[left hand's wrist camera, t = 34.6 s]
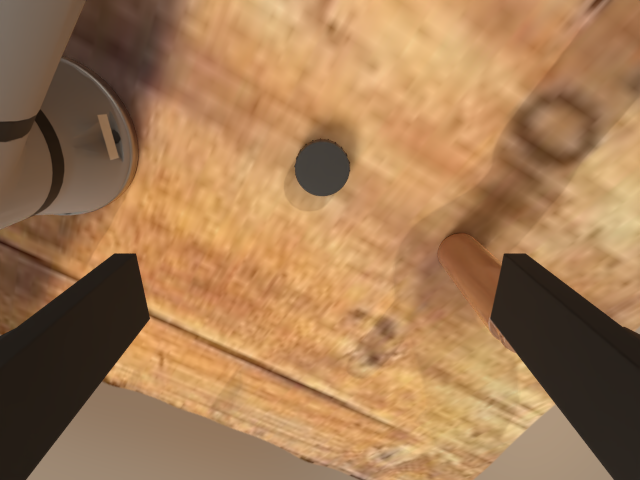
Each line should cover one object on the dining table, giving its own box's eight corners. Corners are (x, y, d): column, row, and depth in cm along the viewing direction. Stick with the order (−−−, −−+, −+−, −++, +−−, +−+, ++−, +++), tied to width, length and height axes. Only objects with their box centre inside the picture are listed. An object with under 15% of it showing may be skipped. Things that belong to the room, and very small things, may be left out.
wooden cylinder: (458, 276, 42) (529, 367, 28) (428, 256, 41) (486, 339, 27) (486, 247, 40) (576, 326, 26) (456, 225, 39) (532, 295, 25)
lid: (354, 145, 36) (356, 147, 34) (341, 196, 38) (342, 202, 36) (301, 133, 36) (300, 134, 34) (291, 186, 38) (289, 190, 36)
